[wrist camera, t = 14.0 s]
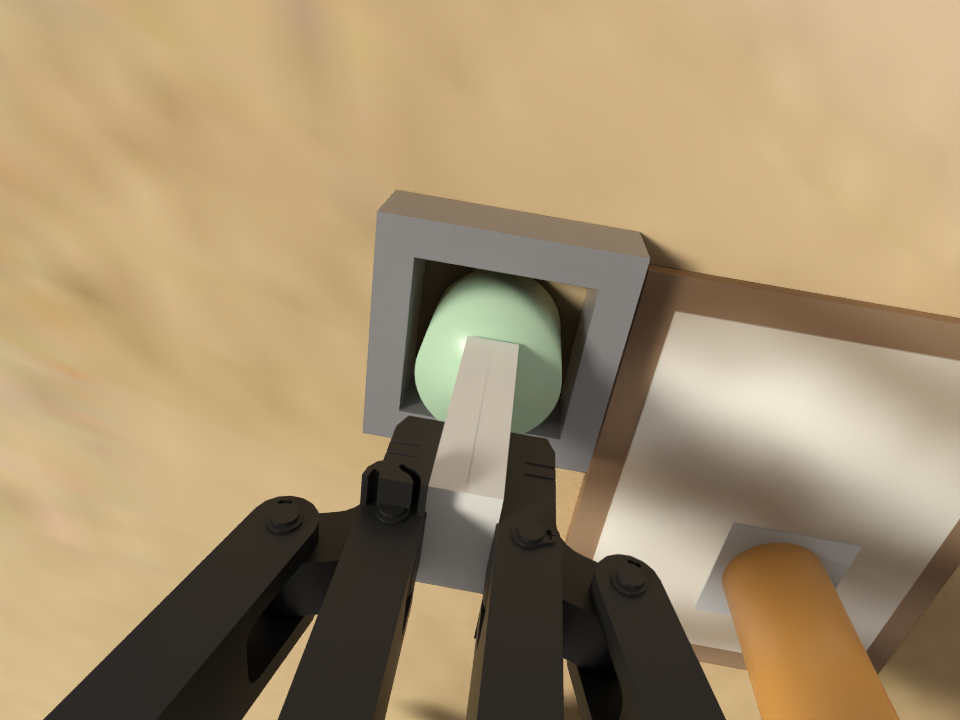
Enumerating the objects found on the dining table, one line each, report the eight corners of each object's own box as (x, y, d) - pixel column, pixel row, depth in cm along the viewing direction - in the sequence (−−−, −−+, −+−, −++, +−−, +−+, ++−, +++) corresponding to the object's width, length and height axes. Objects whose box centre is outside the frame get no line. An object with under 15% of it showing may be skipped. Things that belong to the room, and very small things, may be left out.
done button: (546, 392, 23) (546, 450, 20) (427, 371, 23) (408, 426, 20) (573, 280, 21) (576, 327, 18) (441, 257, 21) (422, 299, 18)
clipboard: (859, 679, 29) (866, 696, 29) (541, 621, 30) (541, 635, 29) (1102, 343, 20) (1121, 354, 20) (646, 263, 21) (650, 272, 20)
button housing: (583, 431, 24) (586, 473, 22) (379, 395, 24) (362, 432, 22) (639, 232, 20) (650, 258, 18) (395, 190, 20) (377, 211, 18)
